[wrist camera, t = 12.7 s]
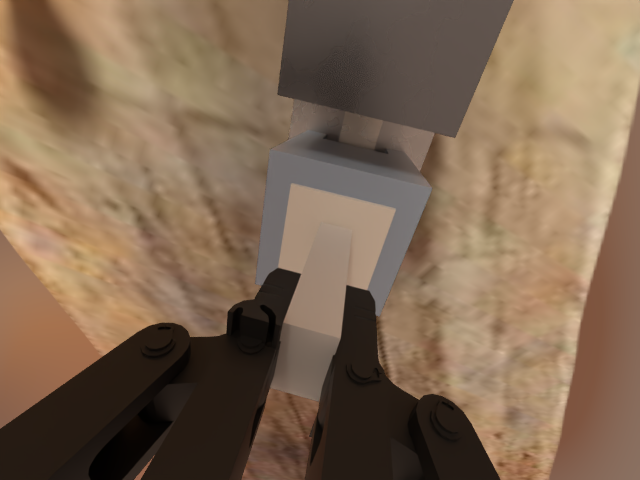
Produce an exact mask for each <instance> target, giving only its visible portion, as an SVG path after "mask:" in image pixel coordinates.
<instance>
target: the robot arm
mask: <svg viewBox="0 0 640 480" xmlns="http://www.w3.org/2000/svg"><path fill="white" fill-rule="evenodd" d="M351 237H352V230H351V229H347V228H343V227H339V226H335V225H331V224H327V223H323V222H321V223H320V226H319V228H318V231H317V234H316V236H315V239H314V242H313V244H312V247H311V250H310V252H309V255H308V258H307V260H306V263H305V266H304V268H303V271H302V274H300V273H297V272H293V271H289V270H285V269H281V268H277V269H275V270H274V271H272V272H271V273H269V274H268V276H267V277H266V279H265V281H264V283H263V285H262V286H261V288H260V290H259V292H258V293H257V295H256V297H255V299H254V300H246V301H242V302H240V303H238V304H235V305H234V306H233V307H232V308H231V309H230V310H229V311H228V318H227V333H226V334H223V335H220V336H214V337H190V336H189V333H188V331H187V330H186V329H185V328H184V327H183V326H181V325H178V324H175V323H159V324H155V325H151V326H148V327H146V328H144V329H142V330H141V331H139V332H137V333H136V334H134V335H133V336H131V337H130V338H129V339H127V340H126V341H124V342H123V343H121V344H120V345H119V346H117V347H116V348H114V349H113V350H112V351H110V352H109V353H107V354H106V355H104V356H103V357H102V358H100V359H99V360H97V361H96V362H95V363H93V364H92V365H90V366H89V367H87V368H86V369H85V370H83V371H82V372H81V373H79V374H78V375H76V376H75V377H73V378H72V379H70V380H69V381H68V382H66V383H65V384H63V385H62V386H60V387H59V388H58V389H56V390H55V391H53V392H52V393H51V394H49V395H48V396H46V397H45V398H44V399H42V400H41V401H39V402H38V403H36V404H35V405H33V406H32V407H31V408H29V409H28V410H26V411H25V412H24V413H22V414H21V415H19V416H18V417H16V418H15V419H14V420H12V421H11V422H9V423H8V424H6V425H5V426H4V427H2V428H1V429H0V480H134V479H135V478H136V476H137V475H138V474H139V473H140V472H141V471H142V469H143V468H144V467H145V466H146V465H147V463H148V462H149V461H150V460H151V459H152V458H153V456H154V455H155V456H154V458H153V459H152V461H151V463H150V465H149V466H148V468H147V470H146V471H145V473H144V475H143V476H142V478H141V480H241V478H242V475H243V472H244V469H245V466H246V463H247V460H248V457H249V454H250V451H251V448H252V445H253V442H254V439H255V436H256V433H257V430H258V426H259V423H260V420H261V417H262V414H263V411H264V408H265V403H266V398H267V395H268V392H269V389H270V388H272V389H276V390H279V391H283V392H286V393H290V394H293V395H297V396H300V397H304V398H307V399H311V400H314V401H318V402H319V399H320V403H319V409H318V413H317V416H316V419H315V422H314V424H313V427H312V430H311V433H310V435H309V437H312V439H311V445H310V452H309V458H308V464H307V470H306V476H305V480H500V478H499V476H498V474H497V472H496V470H495V468H494V466H493V464H492V462H491V460H490V459H489V457H488V455H487V453H486V451H485V449H484V447H483V445H482V443H481V441H480V439H479V438H478V436H477V434H476V432H475V430H474V428H473V426H472V424H471V423H470V421H469V420H468V418H467V417H466V415H465V414H464V412H463V411H462V410H461V409H460V408H459V407H457V406H456V405H455V404H454V403H453V402H451V401H450V400H448V399H446V398H445V397H443V396H439V395H435V394H429V395H424V396H423V397H422V398H421V399H420V400H418V399H417V398H415V397H413V396H412V395H410V394H408V393H407V392H405V391H403V390H402V389H400V388H399V387H397V386H396V385H394V384H393V383H392V382H391V381H390V380H389V379H388V378H387V377H386V375H385V373H384V369H383V368H382V367H381V365H380V364H379V361H378V349H377V328H376V314H375V313H376V307H375V300H374V298H373V296H372V295H371V293H370V291H368V290H364V289H360V288H357V287H353V286H349V285H346V284H347V274H348V265H349V255H350V246H351Z"/></svg>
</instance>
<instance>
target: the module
mask: <svg viewBox="0 0 640 480" xmlns="http://www.w3.org/2000/svg"><path fill="white" fill-rule="evenodd" d="M326 137H327V134H323V133H319V132H315V131H310V130H307V131H305V132H303V133H301V134H299V135H297V136H295V137H293V138H291V139H289V140H287V141H285V142H283V143H281V144H279V145H277V146H275V147H273V148H271V149H270V153H269V162H268V171H267V180H266V189H265V198H264V207H263V216H262V226H261V235H260V244H259V253H258V262H257V271H256V280H255V284H257V285H261V286H262V285H263V283H264V281H265V279H266V277H267V276H268V274H269V273H271V272H272V271H274V270H275V269H277V268H281V269H285V270H289V271H293V272H297V273H300V274H302V271H303V268H304V266H305V263H306V260H307V258H308V255H309V252H310V250H311V247H312V244H313V242H314V239H315V236H316V234H317V231H318V228H319V226H320V223H321V222H323V223H327V224H331V225H335V226H339V227H343V228H347V229H351V230H352V237H351V246H350V255H349V265H348V274H347V284H346V285H349V286H353V287H357V288H360V289H364V290H368V291H370V293H371V295H372V296H373V298H374V300H375V307H376V313H375V314H376V316H380V314H381V312H382V309H383V307H384V305H385V302H386V300H387V297H388V295H389V292H390V290H391V288H392V285H393V283H394V280H395V278H396V275H397V273H398V271H399V268H400V266H401V263H402V261H403V259H404V256H405V254H406V251H407V249H408V246H409V244H410V242H411V239H412V237H413V234H414V232H415V229H416V227H417V225H418V222H419V220H420V217H421V215H422V213H423V210H424V208H425V205H426V203H427V200H428V198H429V196H430V193H431V191H432V187H431V186H430V184H429V183H428V182H427V180H426V179H425V178H424V176H423V175H422V174H421V173H420V171H419V170H418V169H417V167H416V166H415V165H414V163H413V162H412V161H411V160H410V158H409V157H408V156H407V154H406V153H403V152H399V151H395V150H391V149H387V148H386V151H385V153H382V152H378V151H373V150H369V149H365V148H361V147H357V146H352V145H348V144H344V143H340V142H336V141H331V140H327V139H326Z"/></svg>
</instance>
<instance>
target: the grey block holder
mask: <svg viewBox="0 0 640 480" xmlns="http://www.w3.org/2000/svg"><path fill="white" fill-rule="evenodd" d="M513 1H514V0H289V3H288V11H287V20H286V28H285V36H284V45H283V53H282V61H281V70H280V78H279V86H278V95H280V96H285V97H289V98H293V99H294V104H293V111H292V118H291V125H290V132H289V138H288V140H289V139H291V138H293V137H295V136H297V135H299V134H301V133H303V132H305V131H307V130H310V131H315V132H319V133H323V134H327V137H326V139H327V140H331V141H336V142H340V143H344V144H348V145H352V146H357V147H361V148H365V149H369V150H373V151H378V152H382V153H385V151H386V148H387V149H391V150H395V151H399V152H403V153H406V154H407V156H408V157H409V158H410V160H411V161H412V162H413V163H414V165H415V166H416V167H417V169H418V170H419V171H420V170H421V168H422V165H423V162H424V160H425V157H426V155H427V152H428V150H429V147H430V144H431V142H432V139H433V137H434V134H435V133H437V134H441V135H445V136H450V137H454V138H455V137H456V135H457V132H458V130H459V128H460V125H461V123H462V121H463V118H464V116H465V114H466V111H467V109H468V106H469V104H470V102H471V99H472V97H473V95H474V92H475V90H476V88H477V85H478V83H479V81H480V78H481V76H482V73H483V71H484V69H485V66H486V64H487V62H488V59H489V57H490V55H491V52H492V50H493V48H494V45H495V43H496V41H497V38H498V36H499V33H500V31H501V29H502V26H503V24H504V22H505V19H506V17H507V15H508V12H509V10H510V8H511V5H512V3H513Z"/></svg>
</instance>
